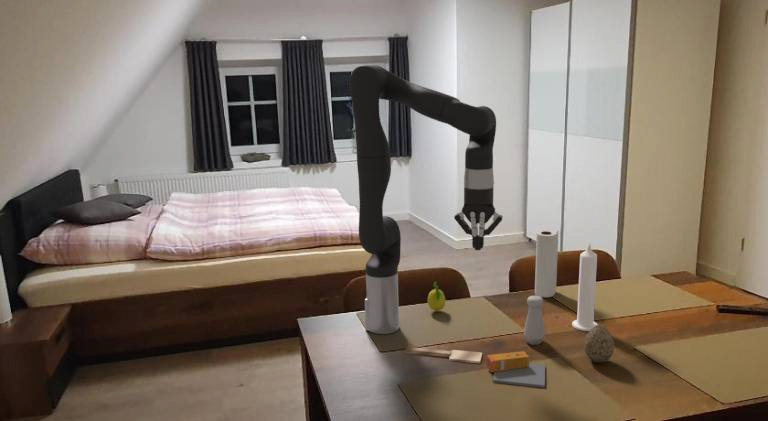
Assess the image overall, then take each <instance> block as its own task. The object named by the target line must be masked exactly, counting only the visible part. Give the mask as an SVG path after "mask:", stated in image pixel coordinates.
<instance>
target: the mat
mask: <svg viewBox="0 0 768 421" xmlns="http://www.w3.org/2000/svg"><path fill="white" fill-rule="evenodd" d="M492 377H493V378H492V382H493V383H499V384H506V385H507V384H509V385H516V386H517V385H518V386H527V387H536V388H545V387H546V365H545V364H538V363H530V362H529V367H526V368H518V369H510V370H502V371H495V372H493V376H492Z"/></svg>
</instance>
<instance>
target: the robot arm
mask: <svg viewBox="0 0 768 421" xmlns="http://www.w3.org/2000/svg"><path fill="white" fill-rule="evenodd" d="M348 85H349V94H350V98H351V104H352V111H353V117H354V129H355V130H354V131H355V143H356V144H355V145H356V164H357V174H358V176H357V177H358V195H359V198H358V199H359V213H358V214H359V215H358V239H359V242H360V245H361V247H362V248H363V250H364V251H365V253H368V254H371V256H370V257H369V259H368V260H367V262H366V264H365V284H366V285H365V286H366V287H365V288H366V298H364V317H365V331H369V332H371V333H374V334H377V335H388V334H392V333H396V332H397V331H398V330H399V329H400V316H399V315H400V312H399V272H398V270H399V269H398V268H399V265H400V261H401V243H402V242H401V241H402V240H401V239H402V238H401V230H400V229H401V228H400V226H399V223H398V222H397V221H396V220H395V219H394V218H393V217H391V216H389V215H388V216H386V215H384V213H383V208H384V207H383V205H384V200H385V199H384V198H385V195H386V193H387V192H386V191H387V188H388V186H389V182H390V178H391V173H392V163H391V162H392V160H391V150H390V145H389V141H388V138H387V136H386V135H387V134H386V133H385V131H384V128H383V125H382V122H381V117H380V100H385V101H390V102H391V101H392V102H395V103H399V104H400V105H404V106H406V107H408V108H410V109H411V110H413V111H415V112H416V113H418V114H420V115H421V116H425V117H426V118H429V119H431V120H434V121H437V122H441V123H444V124H446V125H449V126H450V127H452V128H454V129H456V130H458V131H460V132H462V133H464V134H467V135H469V137H468V138H469V140H468V141H469V142H468V145H467V146H466V149H465V156H464V157H465V158H464V166H465V168H464V176H463V207H462V208H461V211H460V212H457V213H456V214H455V215H454V216H453V218H454V220H455V221H456V222H457V224H458V225H459V226H460V227H461V229H462V230H463V231H464V233H465V234H466V235H470V236H471V237H472V238H471V239H472V248H473V249H474V251H481V250H482V249H483V248H484V244H485V240H484V239H485V236H490V234H491V233H492V232H493V231H494V230H495V229H496V228H497V226H498V225H500V223H501V222H502V221H503V218H504V217H503V215H502V214H499V213H498V212H496V208H495V206H494V184H495V179H494V150H493V149H494V145H495V144H494V143H495V138H496V131H497V117H496V114H495V112H494V110H492V108H490V107H489V106H485V105H481V106H480V105H479V106H473V105H471V104H468V103H464V102H462V101H460V99H459V98H457V97H455V96H452V95H449V94H446V93H443V92H440V91H437V90H435V89H431V88H428V87H424V86H421V85H419V84H416V83H414V82H411V81H409V80H406V79H404V78H401V77H400V76H398V75H396V74H395V73H393V72H391V71H389V70H387V69H386V68H384V67H382V66H380V65H377V64H361V65H358V66H356V67H355V68H354V69H353V70H352V72H351V74H350V77H349V84H348ZM465 217H466V218H465ZM491 218H492V221H493V222H491V224H490V225H489V226H488V227H487V228H486V224H487V223H488V222H489V221H490V219H491ZM465 219H467V221H469V222H470V224H471V225H470V224H468V223H467V222H466V220H465ZM470 226H471V227H470ZM485 228H486V229H485Z"/></svg>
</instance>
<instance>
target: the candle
mask: <svg viewBox="0 0 768 421" xmlns="http://www.w3.org/2000/svg"><path fill="white" fill-rule="evenodd" d="M591 246H592V245H591V243H588V244H587V247H586V249H585V251H583V252H581V253H580V256H579V272H578V274H579V276H578V291H577V292H578V294H577V312H576V313H577V315H576V316H577V317H576V319H575V320H573V321H572V323H571V326H572V328H574V329H576V330H577V331H581V332H589V331H590V330H591V329H592V328H593V327H595V326H596V325H599V324H598V323H597V322H595V321H594V319H595V318H594V317H595V302H596V301H595V300H596V285H597V284H596V281H597V270H598V269H597V267H598V266H597V265H598V255H597V254H596V252H594V251H593V249H592V247H591Z"/></svg>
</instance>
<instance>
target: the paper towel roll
mask: <svg viewBox="0 0 768 421" xmlns="http://www.w3.org/2000/svg"><path fill="white" fill-rule="evenodd" d="M535 244H536V245H535V270H534V271H535V272H534V274H535V275H534V276H535V277H534V296H540V297H541V298H551V297H553V296H555V293H556V292H557V278H558V277H557V276H558V254H559V251H558V250H559V230H558V231H557V232H554V231H552V230H551V231H549V230H540V231H537V232H536V242H535Z"/></svg>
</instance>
